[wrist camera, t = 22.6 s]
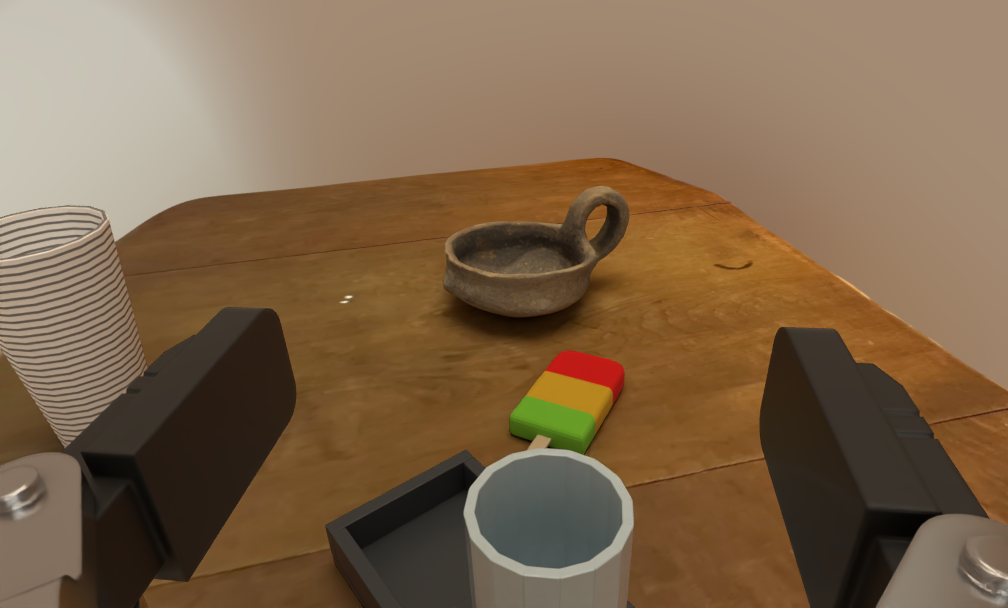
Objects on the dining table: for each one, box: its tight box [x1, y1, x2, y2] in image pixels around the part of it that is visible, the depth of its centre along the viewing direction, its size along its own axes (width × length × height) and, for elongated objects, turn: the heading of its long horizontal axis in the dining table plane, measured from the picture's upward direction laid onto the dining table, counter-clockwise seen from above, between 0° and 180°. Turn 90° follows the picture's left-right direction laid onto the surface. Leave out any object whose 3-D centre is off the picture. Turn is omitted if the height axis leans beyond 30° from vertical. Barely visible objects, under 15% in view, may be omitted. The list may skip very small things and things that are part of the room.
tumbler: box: [463, 448, 634, 608], centre depth 26 cm, size 6×6×11 cm
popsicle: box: [509, 351, 624, 455], centre depth 44 cm, size 6×15×2 cm, turn 152°
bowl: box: [443, 186, 629, 317], centre depth 58 cm, size 14×18×10 cm
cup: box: [0, 205, 147, 448], centre depth 43 cm, size 8×8×16 cm
